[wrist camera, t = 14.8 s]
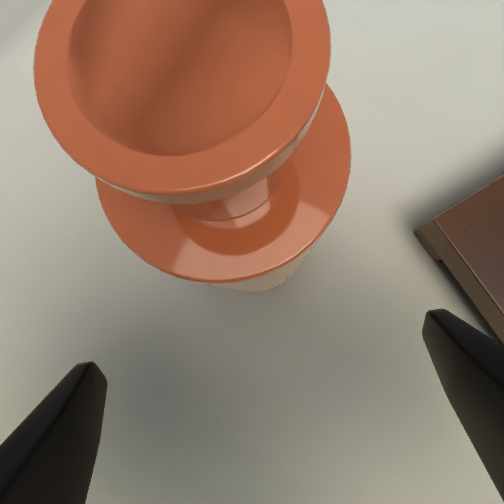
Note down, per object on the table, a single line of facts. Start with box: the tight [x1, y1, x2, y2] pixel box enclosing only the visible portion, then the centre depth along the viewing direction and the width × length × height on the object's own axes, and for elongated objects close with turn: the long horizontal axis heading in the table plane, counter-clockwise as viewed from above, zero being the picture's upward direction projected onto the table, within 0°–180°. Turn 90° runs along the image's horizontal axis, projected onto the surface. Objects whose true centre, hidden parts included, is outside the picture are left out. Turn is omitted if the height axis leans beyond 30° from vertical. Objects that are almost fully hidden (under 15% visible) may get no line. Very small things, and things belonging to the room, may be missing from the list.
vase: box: [33, 0, 351, 292], centre depth 11 cm, size 6×6×14 cm
